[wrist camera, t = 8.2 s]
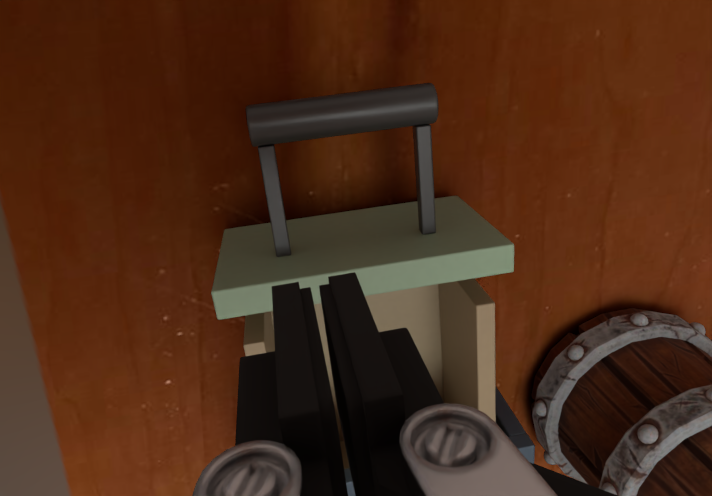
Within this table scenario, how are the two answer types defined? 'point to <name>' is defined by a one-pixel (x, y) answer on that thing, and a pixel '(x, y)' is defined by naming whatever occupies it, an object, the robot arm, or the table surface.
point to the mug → (629, 405)
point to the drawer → (372, 248)
